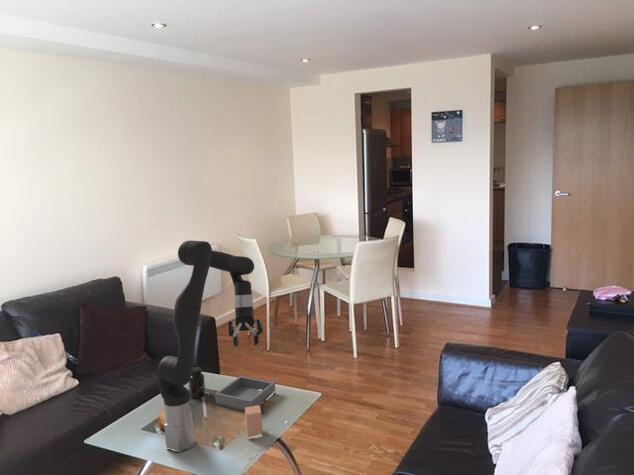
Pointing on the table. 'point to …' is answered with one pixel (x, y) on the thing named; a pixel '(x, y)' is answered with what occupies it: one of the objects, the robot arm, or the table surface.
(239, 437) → the table surface
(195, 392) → the supplement bottle
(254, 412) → the salmon pink block
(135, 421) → the table surface
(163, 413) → the slice of bread
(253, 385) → the charcoal bin
